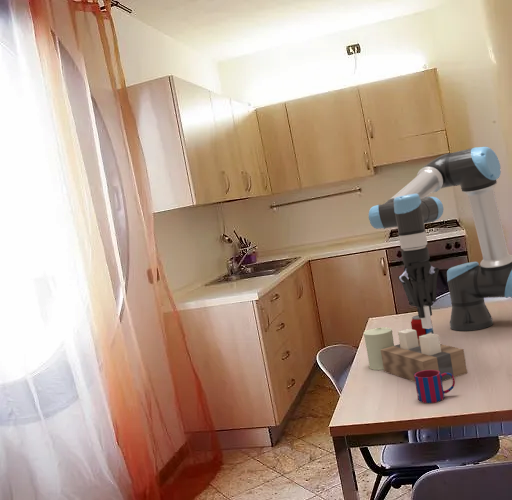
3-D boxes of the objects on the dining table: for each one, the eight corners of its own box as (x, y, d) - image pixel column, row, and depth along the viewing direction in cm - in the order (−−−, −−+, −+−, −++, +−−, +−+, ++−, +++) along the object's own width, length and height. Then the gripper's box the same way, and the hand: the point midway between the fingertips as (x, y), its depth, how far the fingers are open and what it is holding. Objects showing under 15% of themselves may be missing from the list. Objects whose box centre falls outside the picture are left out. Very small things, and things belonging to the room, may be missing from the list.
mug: (418, 395, 167) (413, 371, 167) (456, 392, 165) (452, 367, 164) (418, 404, 161) (414, 378, 160) (458, 400, 158) (454, 374, 158)
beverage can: (437, 352, 204) (431, 317, 203) (416, 355, 205) (410, 320, 204) (435, 347, 210) (429, 313, 210) (415, 349, 212) (409, 315, 211)
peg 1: (412, 350, 194) (408, 328, 193) (419, 352, 190) (416, 330, 189) (401, 353, 192) (397, 331, 192) (408, 355, 188) (405, 333, 188)
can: (399, 360, 203) (393, 324, 202) (396, 368, 195) (389, 331, 194) (371, 362, 206) (365, 327, 206) (367, 371, 198) (360, 334, 197)
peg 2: (433, 356, 183) (430, 333, 183) (442, 358, 179) (438, 334, 179) (422, 359, 182) (418, 336, 181) (431, 361, 178) (427, 338, 178)
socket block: (384, 371, 194) (380, 349, 194) (421, 360, 199) (417, 338, 198) (426, 385, 173) (422, 361, 173) (467, 372, 178) (463, 349, 178)
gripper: (425, 243, 184) (437, 321, 186) (387, 252, 180) (401, 331, 181) (441, 243, 177) (453, 324, 179) (402, 252, 173) (416, 334, 174)
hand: (427, 327), depth 180 cm, fingers closed
